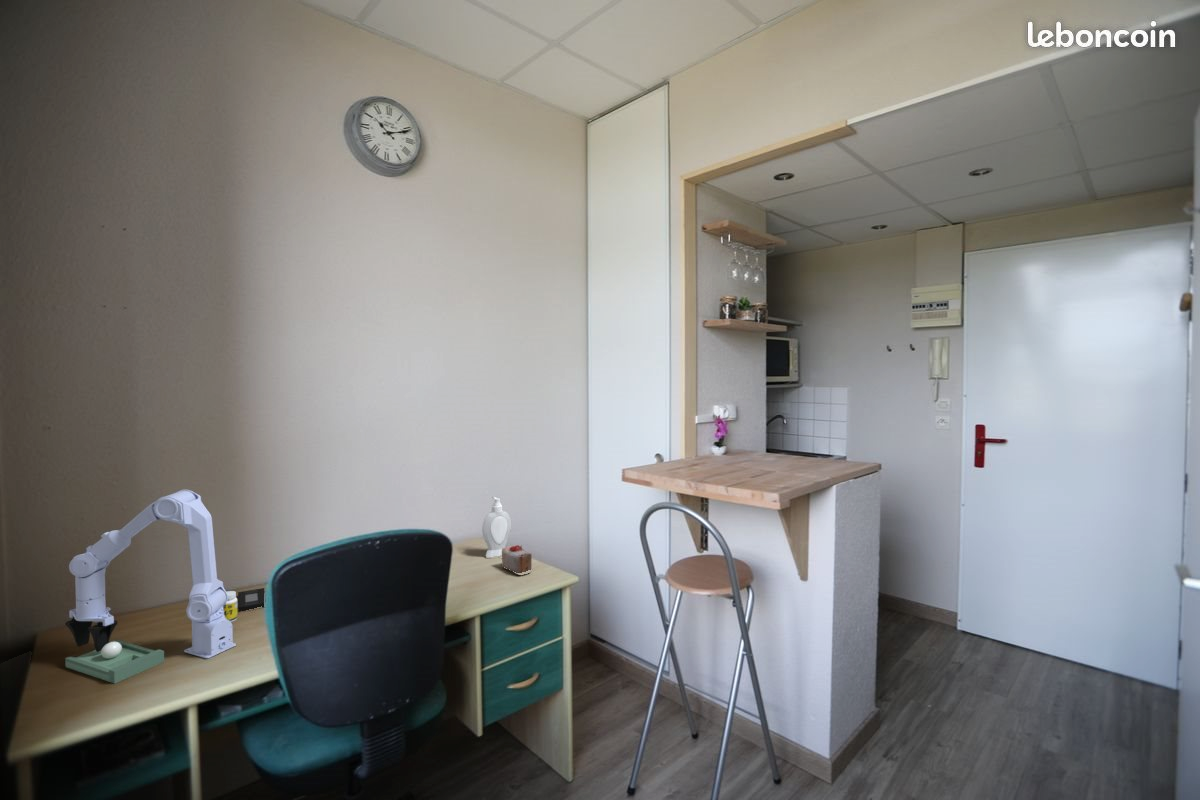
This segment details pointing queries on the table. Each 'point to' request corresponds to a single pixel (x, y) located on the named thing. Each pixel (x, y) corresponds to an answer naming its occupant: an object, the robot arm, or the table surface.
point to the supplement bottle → (231, 607)
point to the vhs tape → (250, 599)
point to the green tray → (116, 662)
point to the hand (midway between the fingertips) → (92, 647)
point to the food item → (516, 559)
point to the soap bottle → (496, 529)
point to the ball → (111, 650)
